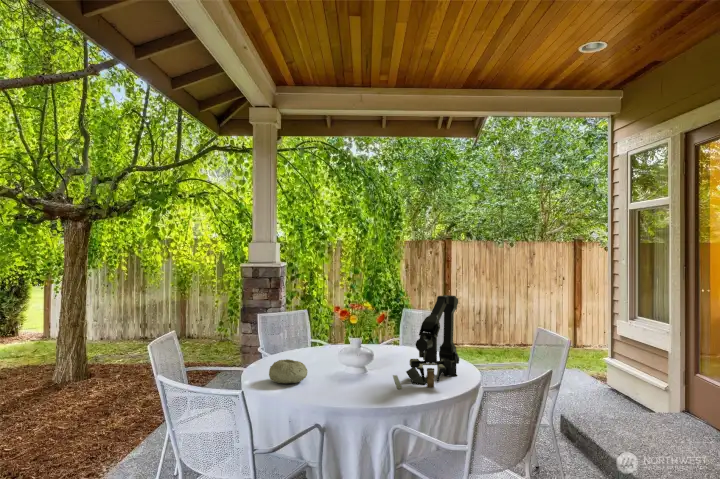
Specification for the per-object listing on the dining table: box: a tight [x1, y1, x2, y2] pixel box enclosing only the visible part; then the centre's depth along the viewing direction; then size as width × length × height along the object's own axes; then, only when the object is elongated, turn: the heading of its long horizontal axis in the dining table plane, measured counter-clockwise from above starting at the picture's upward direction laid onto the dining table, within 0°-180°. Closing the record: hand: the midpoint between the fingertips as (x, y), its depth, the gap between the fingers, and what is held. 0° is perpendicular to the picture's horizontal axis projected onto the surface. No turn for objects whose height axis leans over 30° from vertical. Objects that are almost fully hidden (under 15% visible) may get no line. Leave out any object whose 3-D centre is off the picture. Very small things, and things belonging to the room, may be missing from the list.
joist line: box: [392, 374, 403, 390], centre depth 214 cm, size 2×22×1 cm, turn 1°
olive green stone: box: [268, 358, 309, 384], centre depth 213 cm, size 18×18×10 cm
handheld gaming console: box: [405, 367, 427, 386], centre depth 216 cm, size 12×7×10 cm
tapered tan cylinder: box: [426, 367, 435, 389], centre depth 207 cm, size 3×3×8 cm
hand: (430, 382), depth 207 cm, fingers open, 6 cm apart
